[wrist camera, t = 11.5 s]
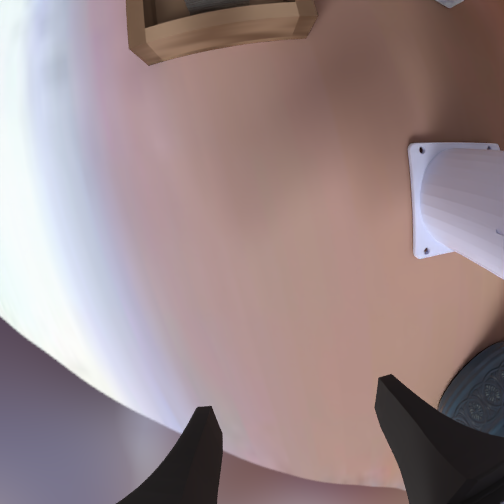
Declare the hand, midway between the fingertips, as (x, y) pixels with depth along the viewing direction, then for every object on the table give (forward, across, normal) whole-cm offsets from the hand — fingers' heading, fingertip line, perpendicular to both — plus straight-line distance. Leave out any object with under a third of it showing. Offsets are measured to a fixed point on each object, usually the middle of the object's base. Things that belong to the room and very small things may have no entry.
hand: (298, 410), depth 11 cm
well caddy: (+9, 0, -22) cm, 24 cm away
